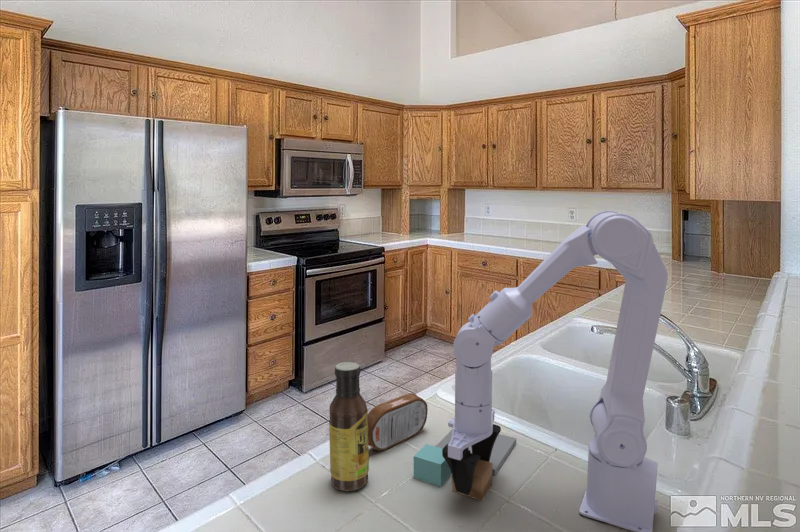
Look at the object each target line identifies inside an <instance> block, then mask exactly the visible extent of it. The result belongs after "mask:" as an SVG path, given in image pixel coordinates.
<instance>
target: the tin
mask: <svg viewBox="0 0 800 532" xmlns="http://www.w3.org/2000/svg"><path fill="white" fill-rule="evenodd" d="M427 418H428V404H427V402H426V401H425V400H424V398H423V397H420V396H419V395H417V394H416V393H413V392H411V393H410V392H409V393H406V394H403V395H400V396H398V397H395V398H392V399H390V400H387V401H385V402H381V403H379V404H377V405H375V406H374V407H373V408H372V409H370V411H369V412H368V447H371V448H372V449H373V450H375V451H378V452H379V451H380V452H381V451H386V450H388V449H391V448H393V447H394V446H397V445H399V444H401V443H403V442H405V441H407V440H410V439H412V438H414V437H415V436H417V435H419V433H421V432H422V430H423V428H424V427H425V425H426V423H427Z"/></svg>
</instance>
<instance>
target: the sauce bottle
mask: <svg viewBox="0 0 800 532" xmlns="http://www.w3.org/2000/svg"><path fill="white" fill-rule="evenodd" d="M360 374H361V365H360V364H359V363H358V362H357V363H356V362H352V361H344V362H340V363H338V364H336V365H335V367H334V376H335V380H336V381H335V383H336V388H335V396H334V398H333V399H332V401H331V403H330V404H329V411H328V412H329V421H328V425H329V428H328V429H329V431H328V432H329V461H330V463H329V465H330V467H329V468H330V477H331V478H330V480H331V484H332V486H333V487H334V488H335V489H336V490H338V491H343V492H350V491H351V492H352V491H357V490H359V489H361V488H363V487H364V486H365V485H366V484H367V483H368V480H369V471H370V469H369V468H370V465H369V464H370V463H369V462H370V459H369V458H370V457H369V445H368V413H369V412H368V410H369V409H368V406H367V402H366V400H365V398H363V396H362V395H361V393H360V392H361V391H360V390H361V387H360Z"/></svg>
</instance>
